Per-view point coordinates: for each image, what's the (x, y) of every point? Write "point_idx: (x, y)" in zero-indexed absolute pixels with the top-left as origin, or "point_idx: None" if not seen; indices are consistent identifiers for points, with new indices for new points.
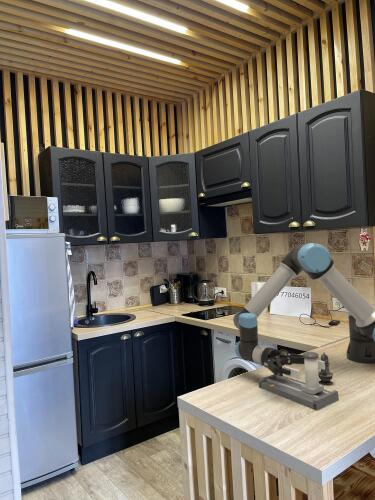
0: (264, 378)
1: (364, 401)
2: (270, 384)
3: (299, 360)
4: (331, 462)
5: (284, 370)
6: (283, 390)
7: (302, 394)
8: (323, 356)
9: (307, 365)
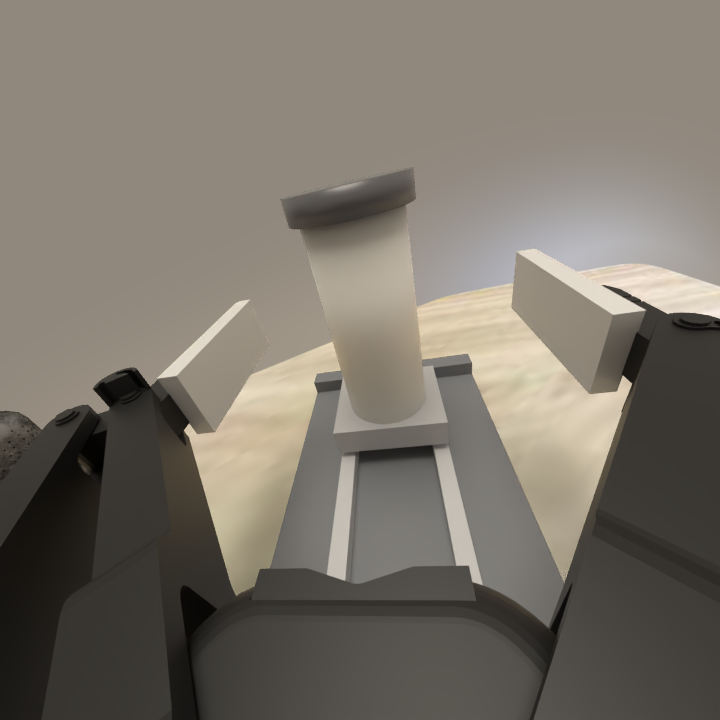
0: None
1: (288, 367)
2: None
3: (183, 473)
4: (601, 267)
5: (644, 306)
6: (543, 583)
7: (449, 448)
8: (5, 422)
9: (411, 259)
